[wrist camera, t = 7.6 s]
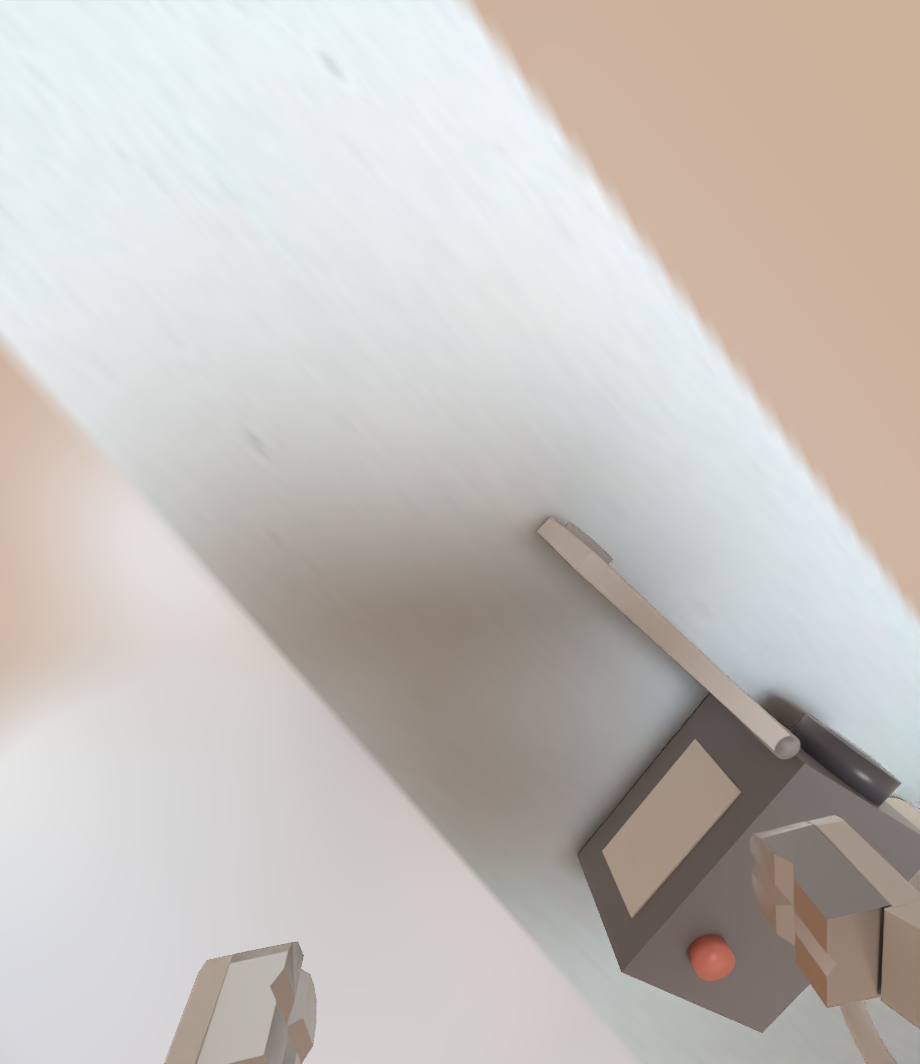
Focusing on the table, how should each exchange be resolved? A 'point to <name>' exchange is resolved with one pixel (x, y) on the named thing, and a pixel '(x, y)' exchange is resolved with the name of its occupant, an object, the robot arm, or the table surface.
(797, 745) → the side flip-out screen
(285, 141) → the table surface
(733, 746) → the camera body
